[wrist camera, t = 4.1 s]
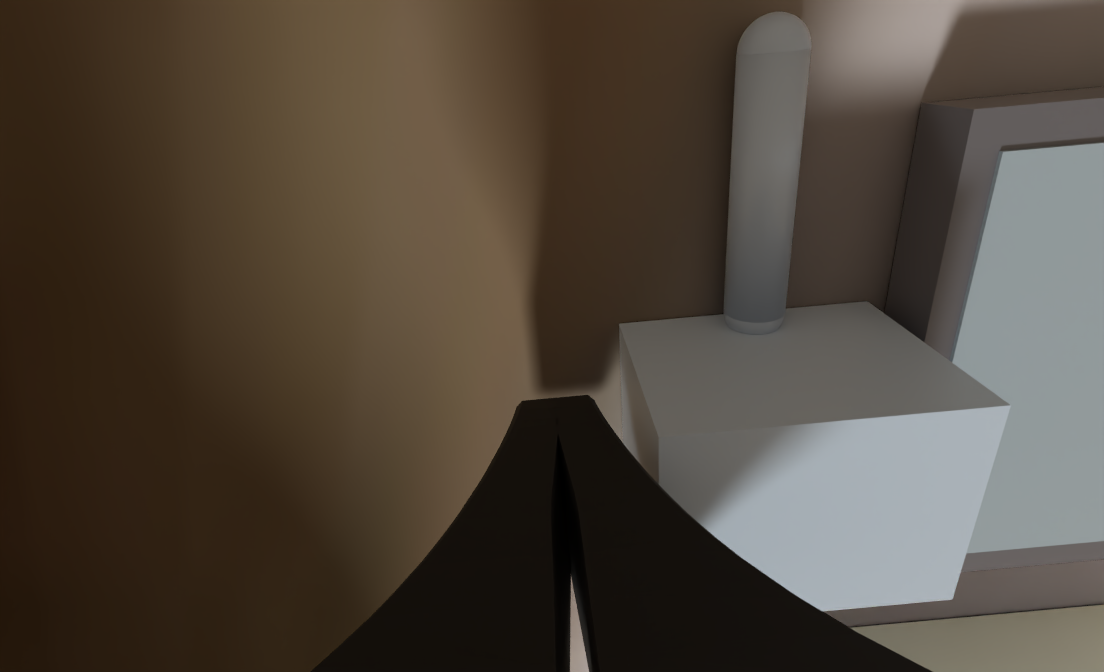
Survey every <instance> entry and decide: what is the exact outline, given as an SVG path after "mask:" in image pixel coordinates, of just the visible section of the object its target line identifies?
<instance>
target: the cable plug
mask: <svg viewBox="0 0 1104 672" xmlns="http://www.w3.org/2000/svg"><path fill="white" fill-rule="evenodd" d="M811 46H812V41H811V36H810V32H809V30H808V28H807V26H806V25H805V23H804V22H803V21H802V20H801V19H800V18H798V17H797V16H795V15H793V14H791V13H787V12H772V13H768V14H765V15H763V16H761V17H759V18H758V19H756V20H755V21H753V22H752V23H751V24H750V25H749V26H748V27H747V29H746V30H745V31H744V33H743V35H742V36H741V38H740V41H739V44H738V47H737V53H736V70H735V90H734V110H733V130H732V150H731V170H730V190H729V210H728V230H727V250H726V270H725V290H724V314H720V315H709V316H698V317H687V318H676V319H665V320H654V321H643V322H632V323H621V324H619V338H620V367H621V397H622V427H623V444H624V445H625V446H626V448H627V449H628V450H629V451H630V452H631V454H632V455H633V456H634V457H635V458H636V460H637V461H638V462H639V463H640V464H641V466H642V467H643V468H644V469H645V470H646V471H647V472H648V473H649V474H650V476H651V477H652V478H653V479H654V480H655V481H656V482H657V483H658V484H659V485H660V486H661V487H662V488H663V489H664V490H665V491H666V492H667V493H668V494H669V495H670V496H671V497H672V498H673V499H674V500H675V501H676V502H677V503H678V504H679V505H680V506H681V507H682V508H683V509H684V510H685V511H686V512H687V513H688V514H689V515H690V516H692V517H693V518H694V519H695V520H696V521H697V522H698V523H700V524H701V525H702V526H703V527H704V528H705V529H707V530H708V531H709V532H710V533H711V534H712V535H714V536H715V537H716V538H717V539H718V540H720V541H721V542H722V543H723V544H725V545H726V546H727V547H729V548H730V549H731V550H732V551H734V552H735V553H736V554H737V555H739V556H740V557H741V558H743V559H744V560H746V561H747V562H748V563H750V564H751V565H753V566H754V567H756V568H757V569H758V570H760V571H761V572H763V573H764V574H766V575H767V576H768V577H770V578H771V579H773V580H774V581H776V582H777V583H778V584H780V585H781V586H783V587H784V588H786V589H787V590H789V591H790V592H792V593H793V594H795V595H796V596H798V597H799V598H801V599H803V600H804V601H806V602H808V603H809V604H811V605H812V606H814V607H816V608H817V609H819V610H821V611H833V610H844V609H855V608H866V607H877V606H888V605H899V604H909V603H920V602H931V601H942V600H952V599H953V596H954V593H955V589H956V586H957V583H958V579H959V576H960V573H961V569H962V566H963V563H964V559H965V556H966V553H967V549H968V546H969V543H970V540H971V536H972V533H973V530H974V526H975V523H976V520H977V516H978V513H979V510H980V506H981V503H982V500H983V496H984V493H985V490H986V487H987V483H988V480H989V477H990V473H991V470H992V467H993V463H994V460H995V457H996V453H997V450H998V447H999V443H1000V440H1001V437H1002V434H1003V430H1004V427H1005V424H1006V420H1007V417H1008V414H1009V410H1010V407H1011V405H1010V404H1008V403H1007V402H1006V401H1004V400H1003V399H1002V398H1000V397H999V396H997V395H996V394H995V393H993V392H992V391H991V390H989V389H988V388H986V387H985V386H984V385H982V384H981V383H979V382H978V381H977V380H975V379H974V378H973V377H971V376H970V375H968V374H967V373H966V372H964V371H963V370H962V369H960V368H959V367H957V366H956V365H955V364H953V363H952V362H951V361H949V360H948V359H946V358H945V357H944V356H942V355H941V354H940V353H938V352H937V351H935V350H934V349H933V348H931V347H930V346H928V345H927V344H926V343H924V342H923V341H922V340H920V339H919V338H917V337H916V336H915V335H913V334H912V333H911V332H909V331H908V330H906V329H905V328H904V327H902V326H901V325H900V324H898V323H897V322H895V321H894V320H893V319H891V318H890V317H888V316H887V315H886V314H884V313H883V312H882V311H880V310H879V309H877V308H876V307H875V306H873V305H872V304H871V303H869V302H868V301H865V302H854V303H842V304H831V305H820V306H809V307H798V308H787V309H786V300H787V290H788V280H789V270H790V260H791V250H792V240H793V230H794V220H795V210H796V200H797V190H798V180H799V169H800V159H801V149H802V139H803V129H804V119H805V109H806V99H807V89H808V79H809V69H810V59H811Z"/></svg>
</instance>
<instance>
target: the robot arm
mask: <svg viewBox="0 0 1104 672" xmlns="http://www.w3.org/2000/svg"><path fill="white" fill-rule="evenodd" d="M571 577H572V582H573V588H574V593H575V598H576V604H577V609H578V614H579V620H580V625H581V630H582V635H583V641H584V646H585V651H586V657H587V662H588V667H589V672H932V671H931V670H929V669H927V668H925V667H923V666H921V665H919V664H917V663H915V662H913V661H911V660H910V659H908V658H906V657H904V656H902V655H900V654H898V653H896V652H894V651H892V650H890V649H888V648H887V647H885V646H883V645H881V644H879V643H877V642H875V641H873V640H871V639H869V638H867V637H865V636H864V635H862V634H860V633H858V632H856V631H854V630H853V629H851V628H849V627H847V626H846V625H844V624H842V623H841V622H839V621H837V620H836V619H834V618H832V617H831V616H829V615H827V614H826V613H824V612H822V611H821V610H819V609H817V608H816V607H814V606H812V605H811V604H809V603H808V602H806V601H804V600H803V599H801V598H799V597H798V596H796V595H795V594H793V593H792V592H790V591H789V590H787V589H786V588H784V587H783V586H781V585H780V584H778V583H777V582H776V581H774V580H773V579H771V578H770V577H768V576H767V575H766V574H764V573H763V572H761V571H760V570H758V569H757V568H756V567H754V566H753V565H751V564H750V563H748V562H747V561H746V560H744V559H743V558H741V557H740V556H739V555H737V554H736V553H735V552H734V551H732V550H731V549H730V548H729V547H727V546H726V545H725V544H723V543H722V542H721V541H720V540H718V539H717V538H716V537H715V536H714V535H712V534H711V533H710V532H709V531H708V530H707V529H705V528H704V527H703V526H702V525H701V524H700V523H698V522H697V521H696V520H695V519H694V518H693V517H692V516H690V515H689V514H688V513H687V512H686V511H685V510H684V509H683V508H682V507H681V506H680V505H679V504H678V503H677V502H676V501H675V500H674V499H673V498H672V497H671V496H670V495H669V494H668V493H667V492H666V491H665V490H664V489H663V488H662V487H661V486H660V485H659V484H658V483H657V482H656V481H655V480H654V479H653V478H652V477H651V476H650V474H649V473H648V472H647V471H646V470H645V469H644V468H643V467H642V466H641V464H640V463H639V462H638V461H637V460H636V458H635V457H634V456H633V455H632V454H631V452H630V451H629V450H628V449H627V448H626V446H625V445H624V444H623V443H622V441H621V440H620V439H619V437H618V436H617V435H616V433H615V432H614V431H613V429H612V428H611V427H610V425H609V424H608V422H607V421H606V419H605V418H604V416H603V415H602V413H601V412H600V410H599V408H598V406H597V405H596V403H595V400H593V399H592V398H591V397H590V396H589V395H582V396H570V397H559V398H548V399H537V400H526V401H522V402H521V403H520V404H519V405H518V406H517V407H516V411H515V414H514V416H513V419H512V421H511V424H510V426H509V428H508V431H507V433H506V435H505V437H504V439H503V441H502V443H501V445H500V447H499V449H498V451H497V453H496V454H495V456H494V458H493V460H492V462H491V463H490V465H489V467H488V469H487V471H486V472H485V474H484V476H483V477H482V479H481V481H480V482H479V484H478V485H477V487H476V488H475V490H474V491H473V493H472V495H471V496H470V498H469V499H468V501H467V502H466V504H465V505H464V507H463V508H462V510H461V511H460V513H459V514H458V516H457V517H456V518H455V520H454V521H453V523H452V524H451V525H450V527H449V528H448V529H447V531H446V532H445V533H444V535H443V536H442V537H441V539H440V540H439V541H438V542H437V544H436V545H435V546H434V547H433V548H432V550H431V551H430V552H429V553H428V555H427V556H426V557H425V558H424V560H423V561H422V562H421V563H420V564H419V565H418V566H417V568H416V569H415V570H414V571H413V572H412V573H411V574H410V575H409V576H408V578H407V579H406V580H405V581H404V582H403V583H402V584H401V585H400V586H399V588H398V589H397V590H396V591H395V592H394V593H393V594H392V595H391V596H390V597H389V598H388V599H387V601H386V602H385V603H384V604H383V605H382V606H381V607H380V608H379V609H378V610H377V611H376V612H375V613H374V614H373V615H372V616H371V617H370V618H369V619H368V620H367V621H366V622H364V623H363V624H362V625H361V626H360V627H359V628H358V629H357V630H356V631H355V632H354V633H353V634H352V635H350V636H349V637H348V638H347V639H346V640H345V641H344V642H343V643H342V644H341V645H340V646H339V647H338V648H336V649H335V650H334V651H333V652H332V653H331V654H330V655H329V656H328V657H327V658H326V659H325V660H323V661H322V662H321V663H320V664H319V665H318V666H317V667H315V668H314V669H313V670H312V671H311V672H570V600H571Z"/></svg>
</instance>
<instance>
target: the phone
mask: <svg viewBox="0 0 1104 672" xmlns="http://www.w3.org/2000/svg"><path fill="white" fill-rule="evenodd" d="M884 314H886V315H887V316H888V317H890V318H891V319H893V320H894V321H895V322H897V323H898V324H900V325H901V326H902V327H904V328H905V329H906V330H908V331H909V332H911V333H912V334H913V335H915V336H916V337H917V338H919V339H920V340H922V341H923V342H924V343H926V344H927V345H928V346H930V347H931V348H933V349H934V350H935V351H937V352H938V353H940V354H941V355H942V356H944V357H945V358H946V359H948V360H949V361H951V362H952V363H953V364H955V365H956V366H957V367H959V368H960V369H962V370H963V371H964V372H966V373H967V374H968V375H970V376H971V377H973V378H974V379H975V380H977V381H978V382H979V383H981V384H982V385H984V386H985V387H986V388H988V389H989V390H991V391H992V392H993V393H995V394H996V395H997V396H999V397H1000V398H1002V399H1003V400H1004V401H1006V402H1007V403H1008V404H1010V405H1011V407H1010V410H1009V414H1008V417H1007V420H1006V424H1005V427H1004V430H1003V434H1002V437H1001V440H1000V443H999V447H998V450H997V453H996V457H995V460H994V463H993V467H992V470H991V473H990V477H989V480H988V483H987V487H986V490H985V493H984V496H983V500H982V503H981V506H980V510H979V513H978V516H977V520H976V523H975V526H974V530H973V533H972V536H971V540H970V543H969V546H968V549H967V553H966V556H965V559H964V563H963V566H962V569H961V572H971V571H982V570H993V569H1004V568H1015V567H1026V566H1037V565H1048V564H1059V563H1070V562H1081V561H1092V560H1103V559H1104V87H1093V88H1082V89H1071V90H1060V91H1049V92H1038V93H1026V94H1015V95H1004V96H993V97H982V98H970V99H959V100H948V101H937V102H926V103H921V109H920V114H919V120H918V126H917V131H916V137H915V143H914V148H913V154H912V160H911V165H910V171H909V176H908V182H907V188H906V193H905V199H904V205H903V210H902V216H901V222H900V227H899V233H898V239H897V244H896V250H895V256H894V261H893V267H892V273H891V278H890V284H889V290H888V295H887V301H886V307H885V312H884Z"/></svg>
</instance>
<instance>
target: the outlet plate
mask: <svg viewBox="0 0 1104 672" xmlns="http://www.w3.org/2000/svg"><path fill="white" fill-rule="evenodd" d="M851 629H853V630H854V631H856V632H858V633H860V634H862V635H864V636H865V637H867V638H869V639H871V640H873V641H875V642H877V643H879V644H881V645H883V646H885V647H887V648H888V649H890V650H892V651H894V652H896V653H898V654H900V655H902V656H904V657H906V658H908V659H910V660H911V661H913V662H915V663H917V664H919V665H921V666H923V667H925V668H927V669H929V670H931V671H932V672H1104V605H1094V606H1083V607H1072V608H1061V609H1050V610H1039V611H1028V612H1017V613H1007V614H996V615H985V616H974V617H963V618H952V619H941V620H930V621H919V622H908V623H897V624H886V625H875V626H864V627H853V628H851Z"/></svg>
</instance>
